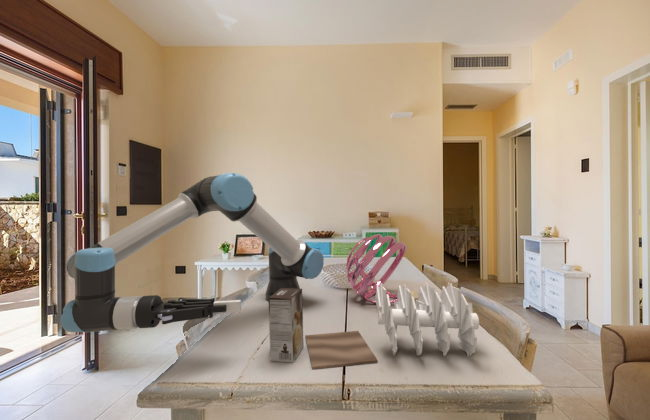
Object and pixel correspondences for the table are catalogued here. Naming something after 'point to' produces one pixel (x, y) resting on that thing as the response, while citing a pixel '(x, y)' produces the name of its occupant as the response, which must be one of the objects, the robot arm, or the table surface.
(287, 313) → the coffee box
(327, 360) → the walnut board
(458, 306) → the spiral staircase
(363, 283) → the spiral basket
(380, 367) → the table surface
